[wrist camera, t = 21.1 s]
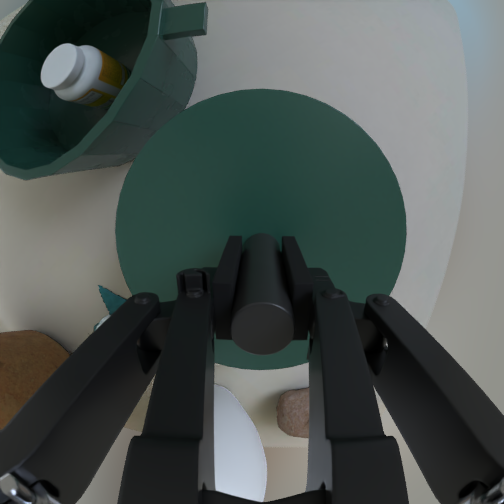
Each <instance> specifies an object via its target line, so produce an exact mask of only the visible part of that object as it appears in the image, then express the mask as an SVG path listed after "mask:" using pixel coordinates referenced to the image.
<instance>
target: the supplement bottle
mask: <svg viewBox="0 0 504 504" xmlns="http://www.w3.org/2000/svg"><path fill="white" fill-rule="evenodd" d="M129 77H130V72H129V70H128V69H127V67H126V66H124V65H123V64H122V63H120V62H118V61H117V60H115V59H113V58H112V57H110V56H108V55H107V54H105V53H103V52H102V51H100V50H99V49H97V48H95V47H93V46H89V45H83V46H79V47H78V46H75V45H73V44H69V43H66V44H62V45H60V46H58V47H57V48H55V49H54V50H53V51H52V52H51V53H50V54H49V55H48V57H47V58H46V60H45V62H44V64H43V67H42V70H41V81H42V83H43V85H44V86H45V87H47V88H50V89H53V90H54V91H55V93H56V95H57V96H58V97H59V98H61V99H63V100H66V101H70V102H74V103H79V104H83V105H87V106H91V107H95V108H99V109H107V108H110V106H111V105H112V103H113V102H114V100H115V98H116V97H117V95H118V94H119V92H120V91H121V89H122V88H123V86H124V85H125V83H126V82H127V80H128V79H129Z"/></svg>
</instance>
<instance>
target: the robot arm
mask: <svg viewBox="0 0 504 504" xmlns="http://www.w3.org/2000/svg"><path fill="white" fill-rule="evenodd" d="M281 255H282V260H283V264H284V269H285V274H286V279H287V284H288V289H289V294H290V299H291V304H292V309H293V314H294V319H295V325H296V331H295V335H294V337H293V339H292V341H295V340H307V338H308V330H309V334H310V339H309V346H308V353H307V359H306V360H309V447H308V448H309V449H308V451H309V452H308V474H307V486H306V491H305V492H304V493H301V494H297V495H294V496H290V497H286V498H283V499H278V500H274V501H270V502H258V501H254V500H249V499H245V498H241V497H237V496H233V495H230V494H226V493H223V492H219V491H216V488H215V467H214V357H215V342H214V334H215V333H216V339H219V340H233V339H232V337H231V334H230V321H231V315H232V309H233V304H234V298H235V292H236V286H237V281H238V275H239V269H240V264H241V258H242V236H229V238H228V241H227V243H226V246H225V248H224V251H223V254H222V256H221V259H220V262H219V264H218V267H203V268H190V269H185V270H182V271H180V272H178V273H177V274H176V279H177V288H178V296H177V299H176V300H173V301H167V302H160V301H159V297H158V295H156V294H155V293H151V292H140V293H138V294H135V295H133V296H131V297H130V298H129V299H128V300H127V301H126V302H124V303H123V304H122V305H121V306H120V307H119V308H118V309H117V310H116V311H115V312H114V313H113V314H112V315H111V316H110V317H109V318H108V319H107V320H105V321H104V322H103V323H102V324H101V325H100V326H99V327H98V328H97V329H96V330H95V331H94V332H93V333H92V334H91V335H90V336H89V337H88V338H87V339H86V340H85V341H84V342H83V343H82V344H81V345H80V346H79V347H78V348H77V349H76V350H75V351H74V352H73V353H72V354H71V355H70V356H69V357H68V358H67V359H66V360H65V361H64V362H63V363H62V364H61V365H60V366H59V367H58V368H57V369H56V371H55V372H54V373H53V374H52V375H51V376H50V377H49V378H48V379H47V380H46V381H45V382H44V383H43V384H42V385H41V386H40V388H39V389H38V390H37V391H36V392H35V393H34V394H33V395H32V396H31V397H30V398H29V400H28V401H27V402H26V403H25V404H24V405H23V406H22V407H21V408H20V410H19V411H18V412H17V413H16V414H15V415H14V416H13V418H12V419H11V420H10V421H9V422H8V423H7V425H6V426H5V427H4V428H3V429H1V430H0V504H75V503H76V502H77V501H78V500H79V499H80V498H81V497H82V495H83V494H84V492H85V491H86V489H87V488H88V486H89V484H90V483H91V481H92V479H93V477H94V476H95V474H96V472H97V471H98V469H99V467H100V465H101V464H102V462H103V460H104V459H105V457H106V455H107V453H108V452H109V450H110V448H111V446H112V445H113V443H114V442H115V440H116V438H117V436H118V435H119V433H120V432H121V430H122V428H123V426H124V425H125V423H126V421H127V420H128V418H129V416H130V415H131V413H132V411H133V410H134V408H135V407H136V405H137V403H138V402H139V400H140V398H141V397H142V395H143V393H144V392H145V390H146V388H147V387H148V385H149V384H150V382H151V380H152V379H153V377H154V375H155V374H156V375H155V379H154V383H153V388H152V392H151V396H150V400H149V405H148V409H147V413H146V418H145V423H144V427H143V431H142V434H141V435H140V436H134V437H133V438H132V439H131V441H130V444H129V448H128V452H127V456H126V461H125V466H124V471H123V476H122V481H121V487H120V492H119V498H118V503H117V504H409V501H408V494H407V488H406V482H405V476H404V471H403V466H402V461H401V456H400V451H399V446H398V444H397V441H396V439H395V438H394V437H393V436H386V435H385V434H384V431H383V427H382V422H381V417H380V413H379V408H378V404H377V400H376V395H375V391H374V387H375V389H376V391H377V393H378V394H379V396H380V398H381V399H382V401H383V403H384V405H385V406H386V408H387V410H388V412H389V413H390V415H391V417H392V419H393V420H394V422H395V424H396V426H397V427H398V429H399V431H400V433H401V434H402V436H403V438H404V440H405V442H406V444H407V445H408V447H409V449H410V451H411V453H412V454H413V457H414V458H415V460H416V462H417V464H418V466H419V468H420V470H421V471H422V473H423V475H424V477H425V479H426V481H427V483H428V485H429V486H430V488H431V490H432V492H433V493H434V495H435V497H436V498H437V499H438V501H439V502H440V503H441V504H504V415H503V414H502V413H501V412H500V411H499V410H498V408H497V407H496V406H495V405H494V403H493V402H492V401H491V400H490V399H489V397H488V396H486V394H485V393H484V392H483V390H482V389H481V388H480V387H479V386H478V385H477V384H476V383H475V381H474V380H473V379H472V378H471V377H470V376H469V375H468V374H467V372H466V371H465V370H464V369H463V368H462V367H461V366H460V365H459V364H458V363H457V362H456V361H455V359H454V358H453V357H452V356H451V355H450V354H449V353H448V352H447V351H446V350H445V349H444V348H443V347H442V346H441V345H440V344H439V343H438V342H437V341H436V340H435V339H434V338H433V337H432V336H431V335H430V334H429V333H428V332H427V330H426V329H425V328H424V327H423V326H422V325H421V324H420V323H418V322H417V321H416V320H415V319H414V318H413V317H412V316H411V315H410V314H409V313H408V312H407V311H406V310H405V309H404V308H403V307H402V306H401V305H400V304H399V303H398V302H397V301H396V300H395V299H393V298H392V297H390V296H387V295H386V294H381V293H379V294H371V295H369V296H367V298H366V302H365V304H364V303H357V302H352V301H349V300H348V297H347V295H346V293H345V292H344V291H342V290H340V289H336V288H335V286H334V284H333V282H332V281H331V279H330V277H329V275H328V273H327V271H325V270H324V269H322V268H307V265H306V263H305V260H304V258H303V255H302V253H301V250H300V248H299V246H298V243H297V241H296V239H295V236H282V250H281ZM386 342H387V344H388V347H387V346H386ZM373 386H374V387H373Z"/></svg>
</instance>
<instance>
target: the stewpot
mask: <svg viewBox="0 0 504 504" xmlns="http://www.w3.org/2000/svg"><path fill="white" fill-rule="evenodd" d="M207 19H208V7H207V4H206V2H204V3H196V4H188V5H181V6H174V4H173V3H172V1H171V0H29V1H28V2H27V3H26V4H25V6H24V7H23V8H22V9H21V10H20V11H19V13H18V14H17V15H16V16H15V17H14V19H13V20H12V21H11V23H10V24H9V26H8V27H7V29H6V31H5V32H4V34H3V36H2V37H1V39H0V169H1V170H2V171H3V172H4V173H5V174H7V175H10V176H13V177H17V178H20V179H23V180H30V179H36V178H41V177H46V176H52V175H58V174H64V173H70V172H77V171H84V170H92V169H99V168H107V167H115V166H120V165H122V164H124V163H127V162H129V161H131V160H133V159H135V158H136V157H137V155H138V154H139V152H140V151H141V150H142V148H143V147H144V145H145V144H146V143H147V141H148V140H149V139H150V138H151V137H152V136H153V135H154V134H155V133H156V132H157V131H158V130H159V129H160V128H161V127H162V126H163V125H164V124H166V123H167V122H168V121H169V120H171V119H172V118H173V117H175V116H176V115H177V114H179V113H180V112H182V111H184V109H185V107H186V105H187V104H188V102H189V99H190V97H191V94H192V91H193V88H194V84H195V80H196V74H197V51H196V48H195V44H194V42H193V39H192V36H201V35H206V34H207ZM66 43H69V44H73V45H75V46H78V47H79V46H83V45H89V46H93V47H95V48H97V49H99V50H100V51H102V52H103V53H105V54H107V55H108V56H110V57H112V58H113V59H115V60H117V61H118V62H120V63H122V64H123V65H124V66H126V67H127V69H128V70H129V72H130V77H129V79H128V80H127V82H126V83H125V85H124V86H123V88H122V89H121V91H120V92H119V94H118V95H117V97H116V98H115V100H114V102H113V103H112V105H111V106H110V108H107V109H99V108H95V107H91V106H87V105H83V104H79V103H74V102H70V101H66V100H63V99H61V98H59V97H58V96H57V95H56V93H55V91H54V90H53V89H50V88H47V87H45V86H44V85H43V83H42V81H41V70H42V67H43V64H44V62H45V60H46V58H47V57H48V55H49V54H50V53H51V52H52V51H53V50H54V49H55V48H57V47H58V46H60V45H62V44H66Z"/></svg>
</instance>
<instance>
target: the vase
mask: <svg viewBox="0 0 504 504" xmlns="http://www.w3.org/2000/svg"><path fill="white" fill-rule="evenodd" d="M214 467H215V488H216V491H219V492H223V493H226V494H230V495H233V496H237V497H241V498H245V499H249V500H254V501H258V502H263V500H264V496H265V491H266V482H267V481H266V480H267V463H266V458H265V453H264V450H263V446H262V443H261V440H260V437H259V434H258V432H257V429H256V427H255V425H254V424H253V422H252V420H251V419H250V417H249V416H248V414H247V413H246V411H245V410H244V408H243V407H242V406H241V404H240V403H239V401H238V400H237V399H236V397H235V396H234V395H233V394H232V393H231V392H230V391H229V390H228V389H226V388H224V387H222V386H220V385H216V384H214Z"/></svg>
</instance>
